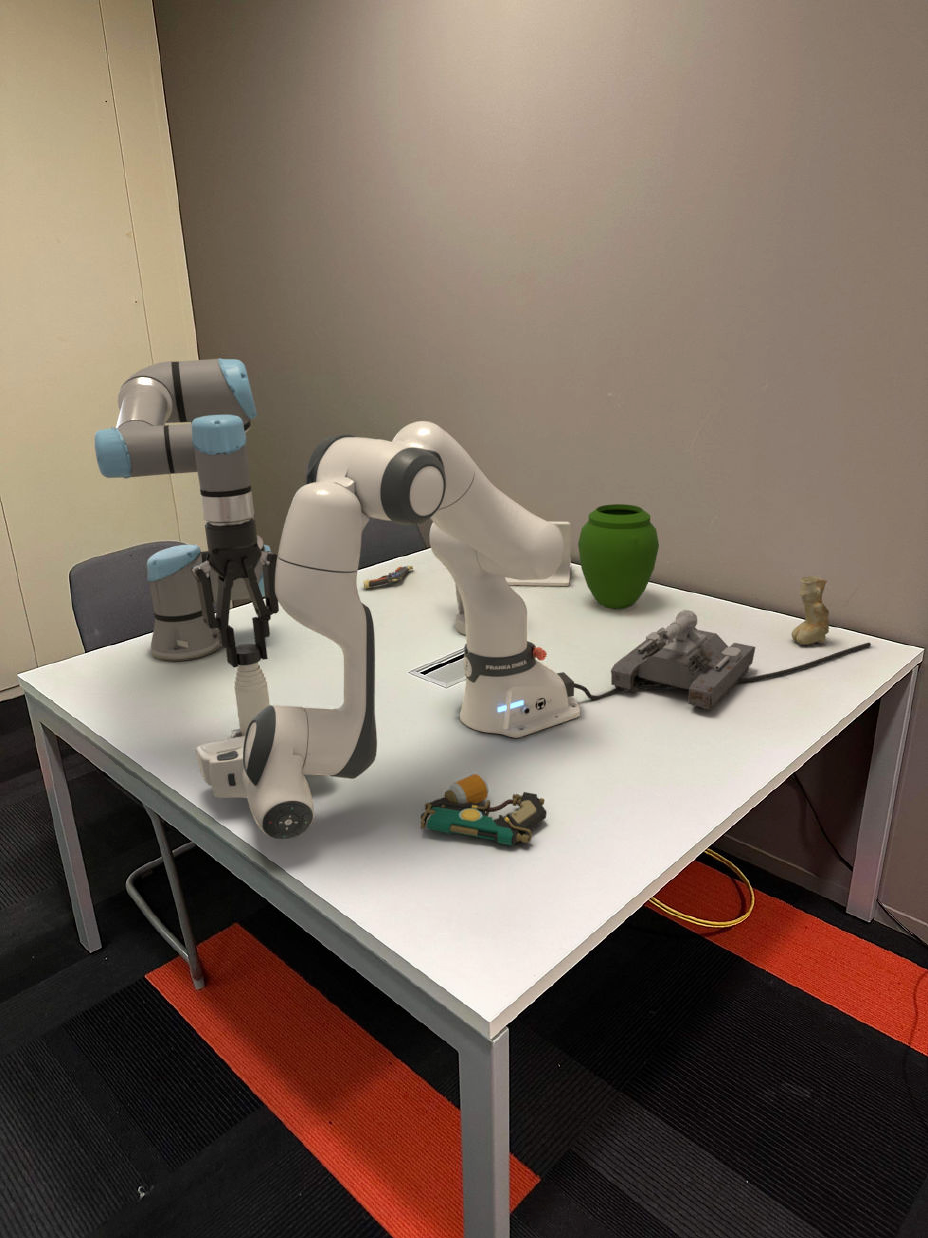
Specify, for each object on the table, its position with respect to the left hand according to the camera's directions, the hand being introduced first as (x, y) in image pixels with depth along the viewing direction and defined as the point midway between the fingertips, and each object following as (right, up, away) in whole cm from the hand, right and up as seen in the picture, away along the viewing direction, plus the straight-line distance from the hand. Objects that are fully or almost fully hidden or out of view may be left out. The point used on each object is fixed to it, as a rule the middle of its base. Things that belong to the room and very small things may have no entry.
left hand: (247, 660), depth 138 cm
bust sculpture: (+36, +5, +66) cm, 76 cm away
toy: (+79, -6, +33) cm, 86 cm away
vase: (+73, +10, +76) cm, 106 cm away
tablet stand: (+52, +19, +101) cm, 115 cm away
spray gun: (+38, -24, -11) cm, 46 cm away
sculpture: (+111, +1, +50) cm, 122 cm away
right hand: (0, -12, +5) cm, 13 cm away
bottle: (+1, -18, +7) cm, 19 cm away
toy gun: (+14, +17, +100) cm, 103 cm away
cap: (0, +2, -1) cm, 2 cm away
